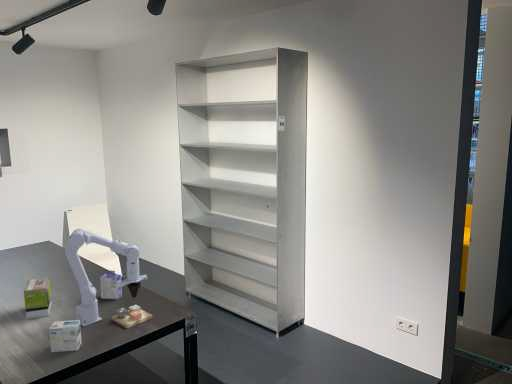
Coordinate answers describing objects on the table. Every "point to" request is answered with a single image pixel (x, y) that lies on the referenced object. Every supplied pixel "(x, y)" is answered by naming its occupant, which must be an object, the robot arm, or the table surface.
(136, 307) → the tile two
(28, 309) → the tea box
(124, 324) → the button board
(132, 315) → the tile one
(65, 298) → the table surface
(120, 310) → the tile three
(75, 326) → the light bulb box
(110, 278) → the ink cartridge box
